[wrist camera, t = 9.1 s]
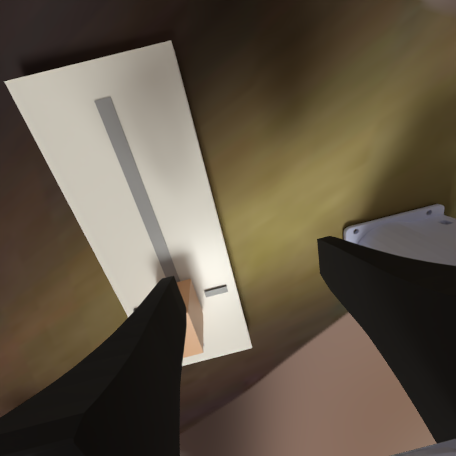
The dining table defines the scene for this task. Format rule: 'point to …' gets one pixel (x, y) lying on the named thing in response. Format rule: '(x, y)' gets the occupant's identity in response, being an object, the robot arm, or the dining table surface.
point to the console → (137, 180)
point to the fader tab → (192, 319)
